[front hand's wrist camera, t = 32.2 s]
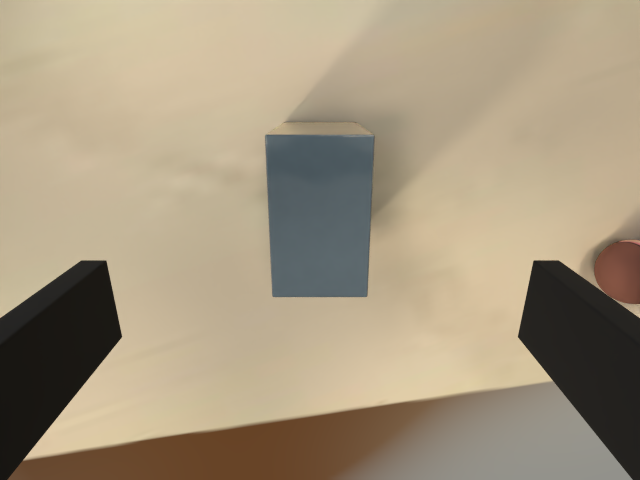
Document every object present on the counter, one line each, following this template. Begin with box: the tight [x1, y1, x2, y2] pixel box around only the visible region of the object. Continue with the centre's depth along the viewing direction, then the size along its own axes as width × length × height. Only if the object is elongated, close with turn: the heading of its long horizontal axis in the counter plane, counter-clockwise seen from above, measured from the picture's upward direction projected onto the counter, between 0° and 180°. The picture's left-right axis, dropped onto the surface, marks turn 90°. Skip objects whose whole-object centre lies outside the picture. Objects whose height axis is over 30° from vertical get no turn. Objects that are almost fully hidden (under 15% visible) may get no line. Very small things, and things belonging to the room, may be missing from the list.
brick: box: [265, 122, 375, 297], centre depth 26 cm, size 6×9×11 cm, turn 0°
